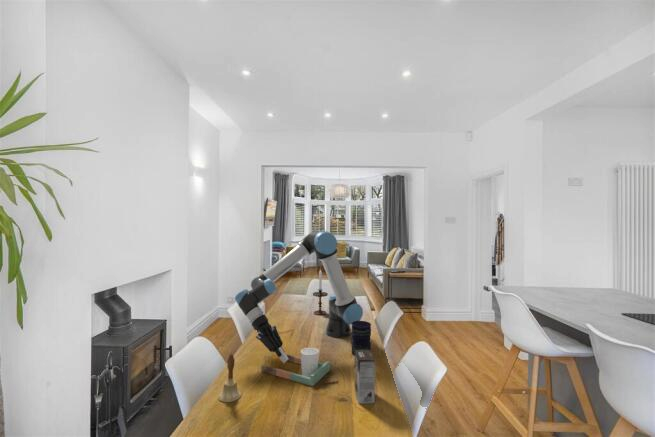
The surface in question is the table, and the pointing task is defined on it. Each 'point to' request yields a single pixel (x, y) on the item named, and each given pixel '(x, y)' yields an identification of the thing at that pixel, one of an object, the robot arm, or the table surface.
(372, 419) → the table surface
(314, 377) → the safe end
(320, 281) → the candlestick
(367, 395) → the coffee box
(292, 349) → the table surface
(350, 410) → the table surface
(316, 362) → the white cup
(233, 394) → the hand bell
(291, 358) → the lane walls
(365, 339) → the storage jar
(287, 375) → the walls
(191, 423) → the table surface
